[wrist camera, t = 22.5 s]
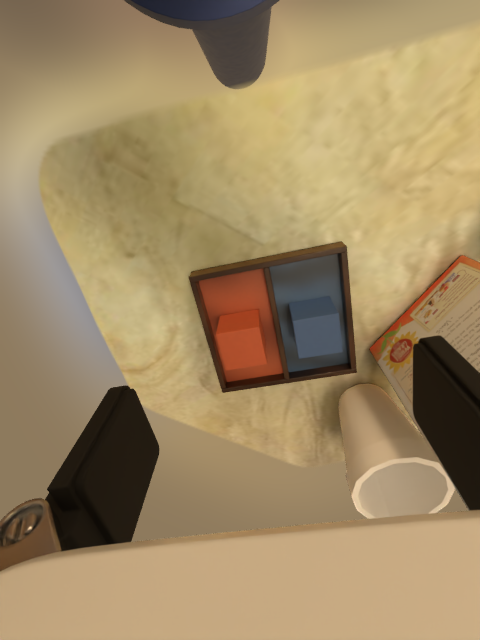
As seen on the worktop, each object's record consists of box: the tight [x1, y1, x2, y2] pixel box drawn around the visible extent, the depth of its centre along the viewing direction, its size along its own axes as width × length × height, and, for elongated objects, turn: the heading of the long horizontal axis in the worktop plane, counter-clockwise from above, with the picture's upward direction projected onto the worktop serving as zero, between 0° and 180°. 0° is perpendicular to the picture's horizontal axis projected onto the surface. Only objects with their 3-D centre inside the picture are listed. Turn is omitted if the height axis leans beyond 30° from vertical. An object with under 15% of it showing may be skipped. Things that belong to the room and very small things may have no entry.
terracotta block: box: [216, 309, 267, 370], centre depth 37 cm, size 4×4×4 cm
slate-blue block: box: [289, 296, 342, 359], centre depth 36 cm, size 4×4×4 cm
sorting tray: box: [189, 242, 357, 393], centre depth 38 cm, size 15×16×2 cm
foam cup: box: [338, 383, 455, 519], centre depth 38 cm, size 10×9×13 cm
